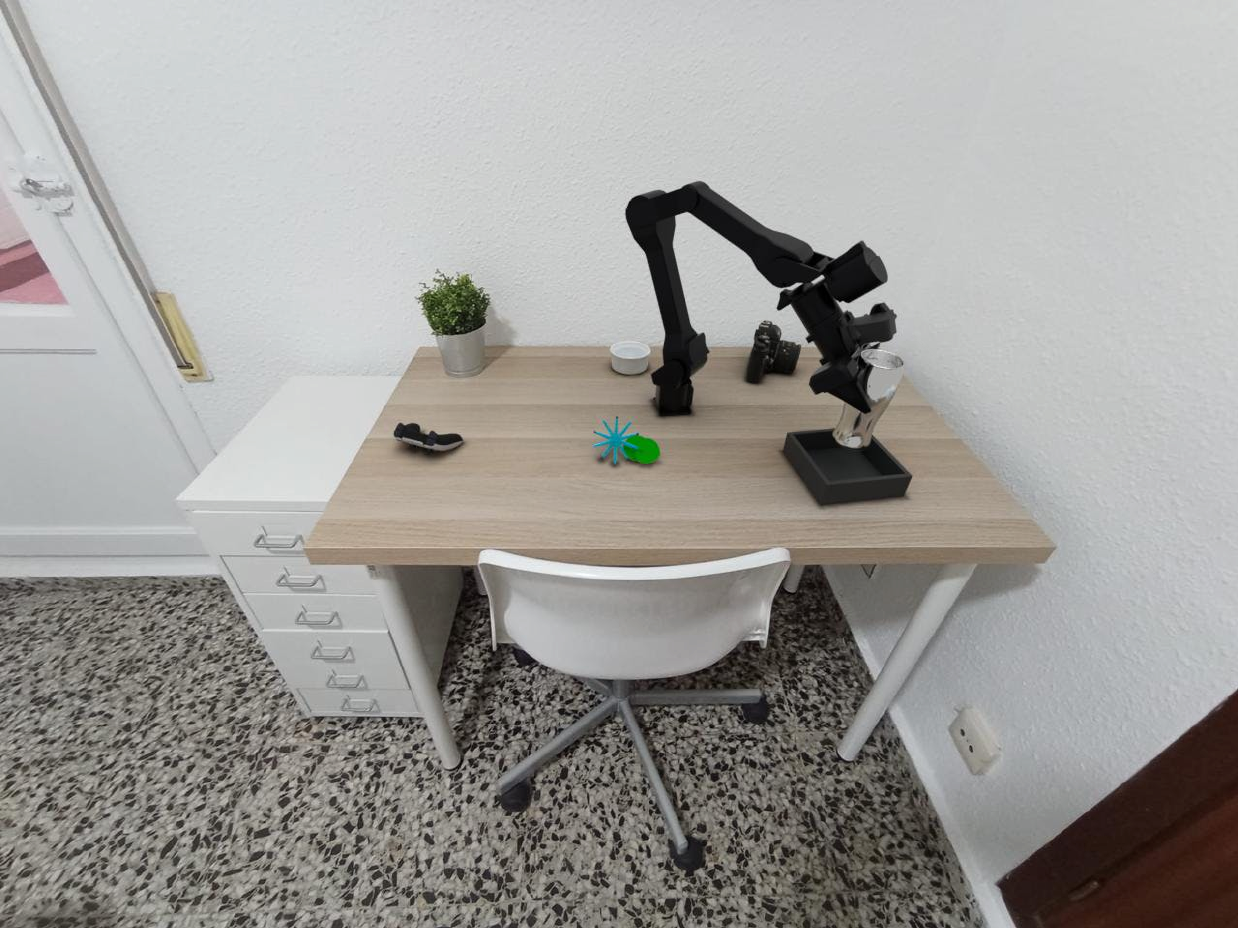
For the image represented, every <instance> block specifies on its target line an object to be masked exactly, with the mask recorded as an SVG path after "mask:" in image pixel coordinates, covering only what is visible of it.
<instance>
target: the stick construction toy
mask: <svg viewBox="0 0 1238 928" xmlns="http://www.w3.org/2000/svg"><path fill="white" fill-rule="evenodd" d="M601 422H602V424H603V425H604V427H605V429H606V430H607V432H608V434H605V433H602V432H599V431H596V430H594V431H593V434H595V435H597V436H599V437H602V438H604V439H607V440H605V441H602V442H599V443H596V444H593V445H592V447H593V448H598V447H602V446H606V445H607V448H606V449H605V450H604V452H603V453H602V455H600V459H601V460H603V459H604V458H605V457H606V455H607V454H608V453H609V452H610V451H611V450H612V449H613V464H614V465H617V461H618V460H617V458H618V449H619V451H620V452H621V453H622V455H623V456H624V457H625V459H626V460H627V461H630V460H631V461H633V462H639V463H640V464H645V465H648V464H652V463H654V462H656V461H657V460H658V459H659V457H660V456H661V448H660V446H659V444H658V443H657V441H655V440H654V439H652V438H650V437H645V436H643V435H640V433H639V432H635V433H632V434H631V433H630V434H627V435H624V434H625V433H626V432H627V430H628V429H629V427H630V426H631V424H632V421H631V420H630V421H629V422H628V423H627V424H626V425H625V426H624V427H623V428H622V430H620V432H619V416H618V415H616V416H615V422H614V431H613V430H612V429H611V427H610V426H609V425H608V423H607V422H606V420H605V419H602V421H601Z"/></svg>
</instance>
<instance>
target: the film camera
mask: <svg viewBox="0 0 1238 928" xmlns="http://www.w3.org/2000/svg"><path fill="white" fill-rule="evenodd" d="M782 335H783V333H782V329H781V328H780V327H779V325H777V324H774V323H773V322H772V321H771V320H768V319H765V320H763V321H761V322H760V324H759V325H758V328H756V329H755V332H754V335H753V345H752V348H751V351H750V354H749V359H748V363H747V367H746V375H745V380H746V382H748V383H751V384H759V383H760V382H761V380H762V378H763V374H764V373H766V374H768V373H769V372H771V371H772V372H774V373H775V372H776V373H787V374H793V373H794V372H795V371H796V368H797V365H798V361H799V358H800V355H801V350H802V344H800V343H799V344H797V343H796V342H795V341H789V340H785V339H781V338H782Z"/></svg>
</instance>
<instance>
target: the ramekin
mask: <svg viewBox="0 0 1238 928" xmlns="http://www.w3.org/2000/svg"><path fill="white" fill-rule="evenodd" d="M609 352H610V358H611V359H610V360H611V366H612V367H611V368H612V369H613V371H615V372H617V373H618V374H622V375H629V376H630V375H631V376H632V375H633V376H634V375H639V374H641V373H643V372H645V371H646V370H647V369H648V364H649V359H650V355H651V348H650V347H649V346H648V345H646V344H645V343H642V342H638V341H632V340H631V341H630V340H627V341H626V340H625V341H619V342H616V343H614V344H612V345H611V346H610V348H609Z"/></svg>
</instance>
